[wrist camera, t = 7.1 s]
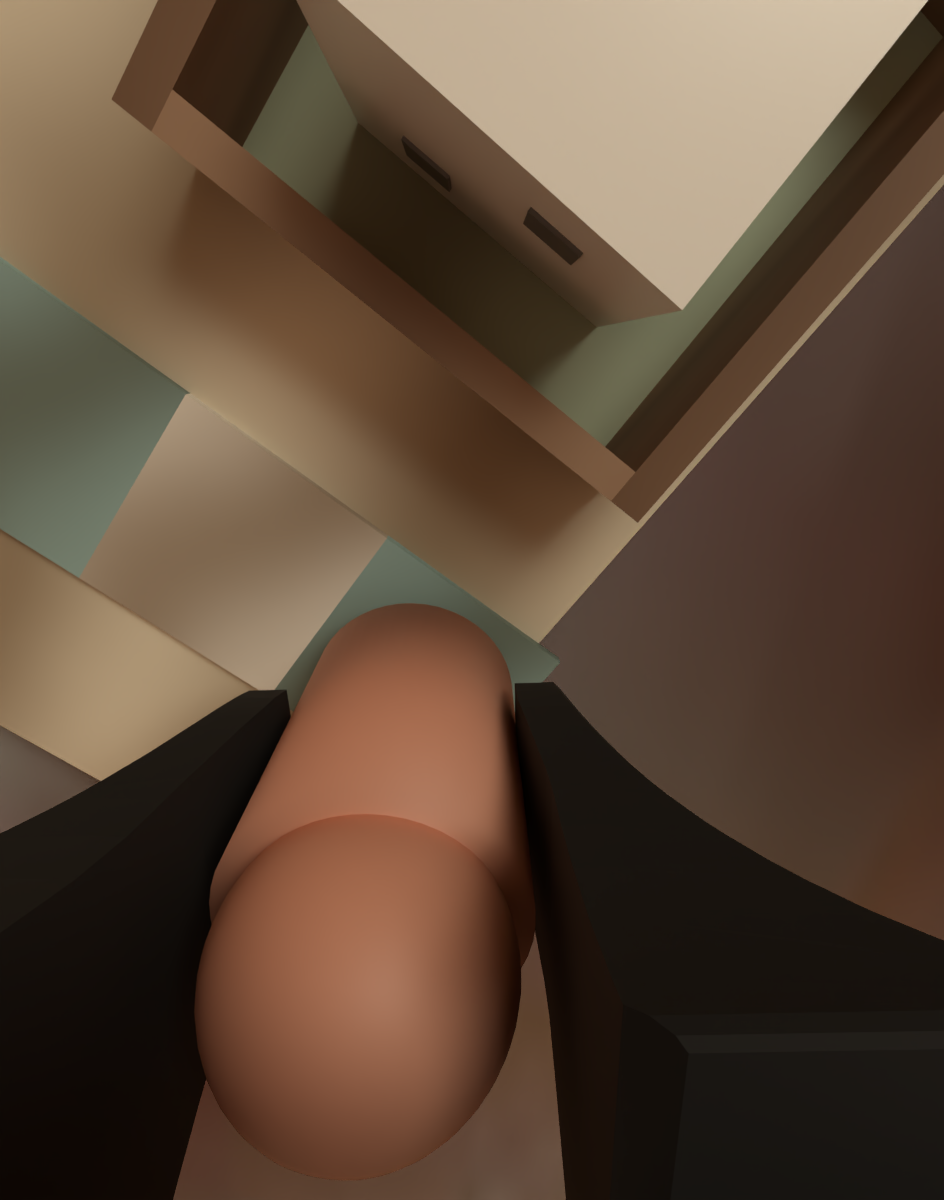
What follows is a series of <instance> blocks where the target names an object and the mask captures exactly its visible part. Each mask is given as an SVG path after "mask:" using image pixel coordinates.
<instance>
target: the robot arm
mask: <svg viewBox="0 0 944 1200" xmlns="http://www.w3.org/2000/svg"><path fill="white" fill-rule="evenodd" d="M290 718H291V714H290V708H289V701H288V695H287V690H252V691H247V692H245V693H243V694H241V695H239V696H237V697H236V698H234V699H232V700H230V701H229V702H227V703H225V704H224V705H222V706H221V707H219V708H217V709H216V710H214V711H213V712H211V713H210V714H208V715H207V716H205V717H203V718H202V719H200V720H199V721H197V722H196V723H194V724H193V725H191V726H190V727H188V728H186V729H185V730H183V731H182V732H180V733H179V734H177V735H176V736H174V737H172V738H171V739H169V740H168V741H166V742H165V743H163V744H162V745H160V746H158V747H157V748H155V749H154V750H152V751H151V752H149V753H147V754H146V755H144V756H142V757H141V758H139V759H137V760H136V761H134V762H132V763H130V764H129V765H127V766H125V767H124V768H122V769H120V770H119V771H117V772H115V773H114V774H112V775H110V776H109V777H107V778H105V779H104V780H102V781H100V782H98V783H97V784H95V785H93V786H92V787H90V788H88V789H87V790H85V791H83V792H81V793H79V794H77V795H76V796H74V797H72V798H70V799H68V800H66V801H64V802H63V803H61V804H59V805H57V806H55V807H53V808H51V809H49V810H47V811H45V812H43V813H41V814H39V815H37V816H35V817H33V818H31V819H29V820H27V821H25V822H23V823H21V824H19V825H17V826H15V827H13V828H11V829H9V830H7V831H5V832H2V833H0V1200H173V1197H174V1193H175V1189H176V1186H177V1182H178V1178H179V1175H180V1171H181V1167H182V1164H183V1160H184V1156H185V1153H186V1149H187V1145H188V1142H189V1138H190V1134H191V1131H192V1127H193V1123H194V1120H195V1116H196V1112H197V1109H198V1105H199V1101H200V1098H201V1094H202V1091H203V1088H204V1084H205V1081H206V1076H205V1073H204V1069H203V1066H202V1062H201V1058H200V1054H199V1051H198V1046H197V1037H196V1026H195V1016H194V1008H195V991H196V980H197V973H198V969H199V964H200V959H201V955H202V952H203V948H204V944H205V941H206V938H207V936H208V933H209V930H210V928H211V925H212V923H211V919H210V907H209V899H210V889H211V884H212V880H213V877H214V873H215V870H216V868H217V866H218V864H219V862H220V860H221V858H222V855H223V853H224V851H225V849H226V847H227V845H228V843H229V841H230V839H231V837H232V835H233V833H234V831H235V829H236V827H237V825H238V823H239V821H240V819H241V817H242V815H243V813H244V811H245V809H246V807H247V805H248V803H249V801H250V799H251V797H252V795H253V793H254V791H255V789H256V787H257V785H258V783H259V781H260V779H261V777H262V775H263V773H264V771H265V769H266V766H267V764H268V762H269V760H270V758H271V756H272V754H273V752H274V750H275V748H276V746H277V744H278V742H279V740H280V738H281V736H282V734H283V732H284V730H285V728H286V726H287V724H288V722H289V720H290ZM515 726H516V736H517V746H518V756H519V764H520V771H521V778H522V786H523V796H524V806H525V815H526V825H527V834H528V844H529V853H530V863H531V872H532V882H533V892H534V901H535V919H536V926H535V933H536V938H537V943H538V949H539V954H540V960H541V965H542V970H543V976H544V981H545V988H546V995H547V1002H548V1009H549V1016H550V1027H551V1038H552V1048H553V1059H554V1070H555V1081H556V1091H557V1102H558V1114H559V1125H560V1136H561V1147H562V1158H563V1170H564V1181H565V1193H566V1200H944V941H943V940H941V939H938V938H936V937H933V936H931V935H928V934H926V933H924V932H921V931H919V930H916V929H914V928H911V927H909V926H906V925H904V924H902V923H899V922H897V921H894V920H892V919H889V918H887V917H884V916H882V915H880V914H877V913H875V912H872V911H870V910H868V909H866V908H864V907H861V906H859V905H857V904H855V903H853V902H851V901H849V900H847V899H845V898H842V897H840V896H838V895H836V894H834V893H832V892H830V891H828V890H826V889H824V888H822V887H820V886H818V885H816V884H814V883H812V882H809V881H807V880H805V879H803V878H801V877H800V876H798V875H796V874H794V873H792V872H790V871H788V870H786V869H784V868H783V867H781V866H779V865H777V864H775V863H773V862H771V861H770V860H768V859H766V858H764V857H763V856H761V855H759V854H758V853H756V852H754V851H752V850H751V849H749V848H747V847H746V846H744V845H742V844H741V843H739V842H737V841H736V840H734V839H732V838H730V837H729V836H727V835H725V834H724V833H722V832H721V831H719V830H718V829H716V828H714V827H713V826H711V825H710V824H708V823H707V822H705V821H704V820H702V819H701V818H699V817H698V816H696V815H695V814H694V813H692V812H691V811H689V810H688V809H687V808H685V807H684V806H682V805H681V804H680V803H678V802H677V801H676V800H674V799H673V798H671V797H670V796H669V795H667V794H666V793H665V792H663V791H662V790H661V789H659V788H658V787H657V786H656V785H654V784H653V783H652V782H651V781H649V780H648V779H647V778H646V777H645V776H644V775H642V774H641V773H640V772H639V771H638V770H637V769H635V768H634V767H633V766H632V765H631V764H630V763H629V762H628V761H626V760H625V759H624V758H623V757H622V756H621V755H620V754H619V753H618V752H617V751H616V750H615V749H614V748H613V747H612V746H611V745H610V744H609V743H608V742H607V741H606V740H605V739H604V738H603V737H602V736H601V735H600V734H599V733H598V732H597V731H596V730H595V729H594V728H593V727H592V725H591V724H590V723H589V722H588V721H587V720H586V719H585V718H584V717H583V715H582V714H581V713H580V712H579V711H578V710H577V709H576V707H575V706H574V705H573V704H572V703H571V702H570V700H569V699H568V698H567V697H566V696H565V694H564V693H563V692H562V691H561V689H560V688H559V687H558V686H557V685H556V684H555V683H553V682H541V683H515Z"/></svg>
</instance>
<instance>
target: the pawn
mask: <svg viewBox="0 0 944 1200" xmlns="http://www.w3.org/2000/svg"><path fill="white" fill-rule="evenodd" d="M209 907H210V919H211V923H212V925H211V928H210V930H209V933H208V936H207V938H206V941H205V944H204V948H203V952H202V955H201V959H200V964H199V969H198V973H197V980H196V991H195V1008H194V1016H195V1026H196V1037H197V1046H198V1051H199V1054H200V1058H201V1062H202V1066H203V1069H204V1073H205V1076H206V1079H207V1082H208V1084H209V1086H210V1088H211V1090H212V1092H213V1094H214V1096H215V1098H216V1100H217V1102H218V1104H219V1106H220V1108H221V1110H222V1111H223V1113H224V1114H225V1116H226V1117H227V1118H228V1120H229V1121H230V1122H231V1124H232V1125H233V1126H234V1128H235V1129H236V1130H237V1132H238V1133H239V1134H240V1135H241V1136H242V1137H243V1138H244V1139H245V1140H246V1141H247V1142H248V1143H249V1144H251V1145H252V1146H253V1147H254V1148H256V1149H257V1150H258V1151H259V1152H261V1153H262V1154H263V1155H264V1156H266V1157H267V1158H269V1159H270V1160H272V1161H273V1162H275V1163H277V1164H279V1165H281V1166H283V1167H285V1168H287V1169H289V1170H292V1171H294V1172H297V1173H300V1174H304V1175H307V1176H311V1177H316V1178H322V1179H329V1180H362V1179H369V1178H374V1177H379V1176H383V1175H386V1174H389V1173H392V1172H394V1171H397V1170H400V1169H402V1168H404V1167H407V1166H409V1165H411V1164H413V1163H415V1162H417V1161H419V1160H421V1159H423V1158H424V1157H426V1156H427V1155H429V1154H430V1153H432V1152H433V1151H434V1150H436V1149H437V1148H439V1147H440V1146H441V1145H443V1144H444V1143H445V1142H447V1141H448V1140H449V1139H450V1138H451V1137H452V1136H453V1135H455V1134H456V1133H457V1132H458V1131H459V1130H460V1128H461V1127H462V1126H463V1125H464V1124H465V1123H466V1122H467V1121H468V1120H469V1119H470V1118H471V1116H472V1115H473V1114H474V1113H475V1112H476V1110H477V1109H478V1108H479V1106H480V1105H481V1103H482V1102H483V1100H484V1099H485V1097H486V1096H487V1094H488V1093H489V1091H490V1090H491V1088H492V1086H493V1084H494V1083H495V1081H496V1079H497V1077H498V1075H499V1073H500V1070H501V1068H502V1066H503V1064H504V1062H505V1059H506V1057H507V1054H508V1051H509V1048H510V1045H511V1042H512V1038H513V1035H514V1031H515V1028H516V1023H517V1017H518V1010H519V1003H520V996H521V968H522V966H523V964H524V962H525V960H526V958H527V957H528V954H529V951H530V948H531V945H532V942H533V938H534V932H535V926H536V919H535V901H534V892H533V882H532V872H531V863H530V853H529V844H528V834H527V825H526V815H525V806H524V796H523V786H522V778H521V771H520V764H519V756H518V746H517V736H516V726H515V710H514V700H513V691H512V683H511V677H510V673H509V670H508V667H507V664H506V661H505V659H504V658H503V656H502V654H501V652H500V650H499V649H498V647H497V646H496V644H495V643H494V642H493V641H492V639H491V638H490V637H489V636H488V635H487V634H486V633H485V632H484V631H483V630H482V629H480V628H479V627H478V626H477V625H476V624H474V623H473V622H471V621H469V620H468V619H466V618H465V617H463V616H461V615H459V614H457V613H454V612H452V611H450V610H447V609H444V608H441V607H437V606H432V605H427V604H416V603H404V604H394V605H388V606H383V607H380V608H376V609H373V610H371V611H368V612H366V613H364V614H362V615H360V616H358V617H356V618H355V619H353V620H351V621H350V622H349V623H347V624H346V625H345V626H344V627H342V628H341V629H340V630H339V631H338V632H337V633H336V634H335V635H334V637H333V638H332V639H331V640H330V642H329V643H328V645H327V646H326V648H325V649H324V651H323V653H322V655H321V657H320V659H319V661H318V663H317V665H316V667H315V669H314V671H313V673H312V675H311V677H310V680H309V682H308V684H307V686H306V688H305V690H304V692H303V694H302V696H301V698H300V700H299V702H298V704H297V706H296V708H295V710H294V712H293V714H292V716H291V718H290V720H289V722H288V724H287V726H286V728H285V730H284V732H283V734H282V736H281V738H280V740H279V742H278V744H277V746H276V748H275V750H274V752H273V754H272V756H271V758H270V760H269V762H268V764H267V766H266V769H265V771H264V773H263V775H262V777H261V779H260V781H259V783H258V785H257V787H256V789H255V791H254V793H253V795H252V797H251V799H250V801H249V803H248V805H247V807H246V809H245V811H244V813H243V815H242V817H241V819H240V821H239V823H238V825H237V827H236V829H235V831H234V833H233V835H232V837H231V839H230V841H229V843H228V845H227V847H226V849H225V851H224V853H223V855H222V858H221V860H220V862H219V864H218V866H217V868H216V870H215V873H214V877H213V880H212V884H211V889H210V899H209Z"/></svg>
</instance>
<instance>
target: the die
mask: <svg viewBox="0 0 944 1200" xmlns="http://www.w3.org/2000/svg"><path fill="white" fill-rule="evenodd" d="M296 1H297V3H298V5H299V7H300V9H301V11H302V13H303V15H304V16H305V18H306V20H307V22H308V24H309V26H310V28H311V30H312V32H313V34H314V36H315V38H316V40H317V42H318V44H319V46H320V48H321V50H322V52H323V54H324V56H325V58H326V60H327V62H328V64H329V66H330V68H331V70H332V72H333V74H334V76H335V78H336V80H337V82H338V84H339V86H340V88H341V90H342V92H343V94H344V96H345V98H346V100H347V102H348V104H349V106H350V108H351V110H352V112H353V114H354V116H355V118H356V120H357V122H358V123H359V124H360V125H361V126H363V127H364V128H365V129H366V130H367V131H368V132H370V133H371V134H372V135H373V136H374V137H375V138H377V139H378V140H379V141H380V142H381V143H382V144H384V145H385V146H386V147H387V148H388V149H389V150H391V151H392V152H393V153H394V154H395V155H396V156H398V157H399V158H400V159H401V160H402V161H403V162H405V163H406V164H407V165H408V166H409V167H410V168H412V169H413V170H414V171H415V172H416V173H417V174H419V175H420V176H421V177H422V178H423V179H424V180H425V181H427V182H428V183H429V184H430V185H431V186H432V187H434V188H435V189H436V190H437V191H438V192H439V193H441V194H442V195H443V196H444V197H445V198H446V199H448V200H449V201H450V202H451V203H452V204H453V205H455V206H456V207H457V208H458V209H459V210H460V211H462V212H463V213H464V214H465V215H466V216H467V217H469V218H470V219H471V220H472V221H473V222H474V223H476V224H477V225H478V226H479V227H480V228H481V229H483V230H484V231H485V232H486V233H487V234H488V235H490V236H491V237H492V238H493V239H494V240H495V241H497V242H498V243H499V244H500V245H501V246H502V247H504V248H505V249H506V250H507V251H508V252H509V253H511V254H512V255H513V256H514V257H515V258H516V259H518V260H519V261H520V262H521V263H522V264H523V265H525V266H526V267H527V268H528V269H529V270H530V271H532V272H533V273H534V274H535V275H536V276H537V277H539V278H540V279H541V280H542V281H543V282H544V283H546V284H547V285H548V286H549V287H550V288H551V289H553V290H554V291H555V292H556V293H557V294H558V295H559V296H561V297H562V298H563V299H564V300H565V301H566V302H568V303H569V304H570V305H571V306H572V307H573V308H575V309H576V310H577V311H578V312H579V313H580V314H582V315H583V316H584V317H585V318H586V319H587V320H589V321H590V322H591V323H592V324H593V325H594V326H596V327H601V326H606V325H611V324H616V323H621V322H626V321H631V320H636V319H641V318H646V317H651V316H656V315H661V314H666V313H671V312H676V311H681V310H683V309H684V307H685V306H686V305H687V304H688V302H689V301H690V300H691V299H692V297H693V296H694V295H695V294H696V292H697V291H698V290H699V289H700V287H701V286H702V285H703V284H704V282H705V281H706V280H707V278H708V277H709V276H710V275H711V273H712V272H713V271H714V270H715V268H716V267H717V266H718V265H719V263H720V262H721V261H722V260H723V258H724V257H725V256H726V255H727V253H728V252H729V251H730V249H731V248H732V247H733V246H734V244H735V243H736V242H737V241H738V239H739V238H740V237H741V236H742V234H743V233H744V232H745V231H746V229H747V228H748V227H749V226H750V224H751V223H752V222H753V220H754V219H755V218H756V217H757V215H758V214H759V213H760V212H761V210H762V209H763V208H764V207H765V205H766V204H767V203H768V202H769V200H770V199H771V198H772V197H773V195H774V194H775V193H776V191H777V190H778V189H779V188H780V186H781V185H782V184H783V183H784V181H785V180H786V179H787V178H788V176H789V175H790V174H791V173H792V171H793V170H794V169H795V168H796V166H797V165H798V164H799V163H800V161H801V160H802V159H803V157H804V156H805V155H806V154H807V152H808V151H809V150H810V149H811V147H812V146H813V145H814V144H815V142H816V141H817V140H818V139H819V137H820V136H821V135H822V134H823V132H824V131H825V130H826V128H827V127H828V126H829V125H830V123H831V122H832V121H833V120H834V118H835V117H836V116H837V115H838V113H839V112H840V111H841V110H842V108H843V107H844V106H845V105H846V103H847V102H848V101H849V99H850V98H851V97H852V96H853V94H854V93H855V92H856V91H857V89H858V88H859V87H860V86H861V84H862V83H863V82H864V81H865V79H866V78H867V77H868V76H869V74H870V73H871V72H872V70H873V69H874V68H875V67H876V65H877V64H878V63H879V62H880V60H881V59H882V58H883V57H884V55H885V54H886V53H887V52H888V50H889V49H890V48H891V47H892V45H893V44H894V43H895V41H896V40H897V39H898V38H899V36H900V35H901V34H902V33H903V31H904V30H905V29H906V28H907V26H908V25H909V24H910V23H911V21H912V20H913V19H914V18H915V16H916V15H917V14H918V13H919V11H920V10H921V9H922V7H923V6H924V5H925V4H926V2H927V1H928V0H296Z"/></svg>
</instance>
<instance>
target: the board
mask: <svg viewBox="0 0 944 1200" xmlns="http://www.w3.org/2000/svg"><path fill="white" fill-rule="evenodd" d="M943 185H944V0H928V1H927V2H926V4H925V5H924V6H923V7H922V9H921V10H920V11H919V13H918V14H917V15H916V16H915V18H914V19H913V20H912V21H911V23H910V24H909V25H908V26H907V28H906V29H905V30H904V31H903V33H902V34H901V35H900V36H899V38H898V39H897V40H896V41H895V43H894V44H893V45H892V47H891V48H890V49H889V50H888V52H887V53H886V54H885V55H884V57H883V58H882V59H881V60H880V62H879V63H878V64H877V65H876V67H875V68H874V69H873V70H872V72H871V73H870V74H869V76H868V77H867V78H866V79H865V81H864V82H863V83H862V84H861V86H860V87H859V88H858V89H857V91H856V92H855V93H854V94H853V96H852V97H851V98H850V99H849V101H848V102H847V103H846V105H845V106H844V107H843V108H842V110H841V111H840V112H839V113H838V115H837V116H836V117H835V118H834V120H833V121H832V122H831V123H830V125H829V126H828V127H827V128H826V130H825V131H824V132H823V134H822V135H821V136H820V137H819V139H818V140H817V141H816V142H815V144H814V145H813V146H812V147H811V149H810V150H809V151H808V152H807V154H806V155H805V156H804V157H803V159H802V160H801V161H800V163H799V164H798V165H797V166H796V168H795V169H794V170H793V171H792V173H791V174H790V175H789V176H788V178H787V179H786V180H785V181H784V183H783V184H782V185H781V186H780V188H779V189H778V190H777V191H776V193H775V194H774V195H773V197H772V198H771V199H770V200H769V202H768V203H767V204H766V205H765V207H764V208H763V209H762V210H761V212H760V213H759V214H758V215H757V217H756V218H755V219H754V220H753V222H752V223H751V224H750V226H749V227H748V228H747V229H746V231H745V232H744V233H743V234H742V236H741V237H740V238H739V239H738V241H737V242H736V243H735V244H734V246H733V247H732V248H731V249H730V251H729V252H728V253H727V255H726V256H725V257H724V258H723V260H722V261H721V262H720V263H719V265H718V266H717V267H716V268H715V270H714V271H713V272H712V273H711V275H710V276H709V277H708V278H707V280H706V281H705V282H704V284H703V285H702V286H701V287H700V289H699V290H698V291H697V292H696V294H695V295H694V296H693V297H692V299H691V300H690V301H689V302H688V304H687V305H686V306H685V307H684V309H683V310H681V311H676V312H671V313H666V314H661V315H656V316H651V317H646V318H641V319H636V320H631V321H626V322H621V323H616V324H611V325H606V326H601V327H596V326H594V325H593V324H592V323H591V322H590V321H589V320H587V319H586V318H585V317H584V316H583V315H582V314H580V313H579V312H578V311H577V310H576V309H575V308H573V307H572V306H571V305H570V304H569V303H568V302H566V301H565V300H564V299H563V298H562V297H561V296H559V295H558V294H557V293H556V292H555V291H554V290H553V289H551V288H550V287H549V286H548V285H547V284H546V283H544V282H543V281H542V280H541V279H540V278H539V277H537V276H536V275H535V274H534V273H533V272H532V271H530V270H529V269H528V268H527V267H526V266H525V265H523V264H522V263H521V262H520V261H519V260H518V259H516V258H515V257H514V256H513V255H512V254H511V253H509V252H508V251H507V250H506V249H505V248H504V247H502V246H501V245H500V244H499V243H498V242H497V241H495V240H494V239H493V238H492V237H491V236H490V235H488V234H487V233H486V232H485V231H484V230H483V229H481V228H480V227H479V226H478V225H477V224H476V223H474V222H473V221H472V220H471V219H470V218H469V217H467V216H466V215H465V214H464V213H463V212H462V211H460V210H459V209H458V208H457V207H456V206H455V205H453V204H452V203H451V202H450V201H449V200H448V199H446V198H445V197H444V196H443V195H442V194H441V193H439V192H438V191H437V190H436V189H435V188H434V187H432V186H431V185H430V184H429V183H428V182H427V181H425V180H424V179H423V178H422V177H421V176H420V175H419V174H417V173H416V172H415V171H414V170H413V169H412V168H410V167H409V166H408V165H407V164H406V163H405V162H403V161H402V160H401V159H400V158H399V157H398V156H396V155H395V154H394V153H393V152H392V151H391V150H389V149H388V148H387V147H386V146H385V145H384V144H382V143H381V142H380V141H379V140H378V139H377V138H375V137H374V136H373V135H372V134H371V133H370V132H368V131H367V130H366V129H365V128H364V127H363V126H361V125H360V124H359V123H358V122H357V120H356V118H355V116H354V114H353V112H352V110H351V108H350V106H349V104H348V102H347V100H346V98H345V96H344V94H343V92H342V90H341V88H340V86H339V84H338V82H337V80H336V78H335V76H334V74H333V72H332V70H331V68H330V66H329V64H328V62H327V60H326V58H325V56H324V54H323V52H322V50H321V48H320V46H319V44H318V42H317V40H316V38H315V36H314V34H313V32H312V30H311V28H310V26H309V24H308V22H307V20H306V18H305V16H304V15H303V13H302V11H301V9H300V7H299V5H298V3H297V1H296V0H0V725H1V726H2V727H4V728H6V729H8V730H10V731H11V732H13V733H15V734H17V735H19V736H20V737H22V738H24V739H26V740H28V741H29V742H31V743H33V744H35V745H37V746H38V747H40V748H42V749H44V750H46V751H47V752H49V753H51V754H53V755H55V756H56V757H58V758H60V759H62V760H64V761H65V762H67V763H69V764H71V765H73V766H75V767H76V768H78V769H80V770H82V771H84V772H85V773H87V774H89V775H91V776H93V777H94V778H96V779H98V780H100V781H102V780H104V779H105V778H107V777H109V776H110V775H112V774H114V773H115V772H117V771H119V770H120V769H122V768H124V767H125V766H127V765H129V764H130V763H132V762H134V761H136V760H137V759H139V758H141V757H142V756H144V755H146V754H147V753H149V752H151V751H152V750H154V749H155V748H157V747H158V746H160V745H162V744H163V743H165V742H166V741H168V740H169V739H171V738H172V737H174V736H176V735H177V734H179V733H180V732H182V731H183V730H185V729H186V728H188V727H190V726H191V725H193V724H194V723H196V722H197V721H199V720H200V719H202V718H203V717H205V716H207V715H208V714H210V713H211V712H213V711H214V710H216V709H217V708H219V707H221V706H222V705H224V704H225V703H227V702H229V701H230V700H232V699H234V698H236V697H237V696H239V695H241V694H243V693H245V692H247V691H252V690H287V695H288V701H289V708H290V714H291V716H292V714H293V712H294V710H295V708H296V706H297V704H298V702H299V700H300V698H301V696H302V694H303V692H304V690H305V688H306V686H307V684H308V682H309V680H310V677H311V675H312V673H313V671H314V669H315V667H316V665H317V663H318V661H319V659H320V657H321V655H322V653H323V651H324V649H325V648H326V646H327V645H328V643H329V642H330V640H331V639H332V638H333V637H334V635H335V634H336V633H337V632H338V631H339V630H340V629H341V628H342V627H344V626H345V625H346V624H347V623H349V622H350V621H351V620H353V619H355V618H356V617H358V616H360V615H362V614H364V613H366V612H368V611H371V610H373V609H376V608H380V607H383V606H388V605H394V604H404V603H416V604H427V605H432V606H437V607H441V608H444V609H447V610H450V611H452V612H454V613H457V614H459V615H461V616H463V617H465V618H466V619H468V620H469V621H471V622H473V623H474V624H476V625H477V626H478V627H479V628H480V629H482V630H483V631H484V632H485V633H486V634H487V635H488V636H489V637H490V638H491V639H492V641H493V642H494V643H495V644H496V646H497V647H498V649H499V650H500V652H501V654H502V656H503V658H504V659H505V661H506V664H507V667H508V670H509V673H510V677H511V683H512V691H513V700H514V710H515V683H541V682H543V681H544V680H545V679H546V677H547V676H548V675H549V674H550V673H551V672H552V671H553V670H554V669H555V667H556V666H557V665H558V664H559V663H560V661H559V658H558V657H557V656H555V655H554V654H553V653H551V652H550V651H548V650H547V649H546V648H544V647H543V646H542V645H540V644H539V643H540V641H541V640H542V639H543V638H544V637H545V636H546V635H547V634H548V632H549V631H550V630H551V629H552V628H553V627H554V626H555V624H556V623H557V622H558V621H559V620H560V619H561V618H562V617H563V615H564V614H565V613H566V612H567V611H568V610H569V609H570V607H571V606H572V605H573V604H574V603H575V602H576V601H577V600H578V598H579V597H580V596H581V595H582V594H583V593H584V592H585V590H586V589H587V588H588V587H589V586H590V585H591V584H592V583H593V581H594V580H595V579H596V578H597V577H598V576H599V575H600V573H601V572H602V571H603V570H604V569H605V568H606V567H607V566H608V564H609V563H610V562H611V561H612V560H613V559H614V558H615V556H616V555H617V554H618V553H619V552H620V551H621V550H622V549H623V547H624V546H625V545H626V544H627V543H628V542H629V541H630V539H631V538H632V537H633V536H634V535H635V534H636V533H637V532H638V530H639V529H640V528H641V527H642V526H643V525H644V524H645V522H646V521H647V520H648V519H649V518H650V517H651V516H652V515H653V513H654V512H655V511H656V510H657V509H658V508H659V507H660V505H661V504H662V503H663V502H664V501H665V500H666V499H667V498H668V496H669V495H670V494H671V493H672V492H673V491H674V490H675V488H676V487H677V486H678V485H679V484H680V483H681V482H682V481H683V479H684V478H685V477H686V476H687V475H688V474H689V473H690V471H691V470H692V469H693V468H694V467H695V466H696V465H697V464H698V462H699V461H700V460H701V459H702V458H703V457H704V456H705V454H706V453H707V452H708V451H709V450H710V449H711V448H712V447H713V445H714V444H715V443H716V442H717V441H718V440H719V439H720V437H721V436H722V435H723V434H724V433H725V432H726V431H727V430H728V428H729V427H730V426H731V425H732V424H733V423H734V422H735V421H736V419H737V418H738V417H739V416H740V415H741V414H742V413H743V411H744V410H745V409H746V408H747V407H748V406H749V405H750V404H751V402H752V401H753V400H754V399H755V398H756V397H757V396H758V394H759V393H760V392H761V391H762V390H763V389H764V388H765V387H766V385H767V384H768V383H769V382H770V381H771V380H772V379H773V377H774V376H775V375H776V374H777V373H778V372H779V371H780V370H781V368H782V367H783V366H784V365H785V364H786V363H787V362H788V360H789V359H790V358H791V357H792V356H793V355H794V354H795V353H796V351H797V350H798V349H799V348H800V347H801V346H802V345H803V343H804V342H805V341H806V340H807V339H808V338H809V337H810V336H811V334H812V333H813V332H814V331H815V330H816V329H817V328H818V326H819V325H820V324H821V323H822V322H823V321H824V320H825V319H826V317H827V316H828V315H829V314H830V313H831V312H832V311H833V309H834V308H835V307H836V306H837V305H838V304H839V303H840V302H841V300H842V299H843V298H844V297H845V296H846V295H847V294H848V292H849V291H850V290H851V289H852V288H853V287H854V286H855V285H856V283H857V282H858V281H859V280H860V279H861V278H862V277H863V275H864V274H865V273H866V272H867V271H868V270H869V269H870V268H871V266H872V265H873V264H874V263H875V262H876V261H877V260H878V258H879V257H880V256H881V255H882V254H883V253H884V252H885V251H886V249H887V248H888V247H889V246H890V245H891V244H892V243H893V241H894V240H895V239H896V238H897V237H898V236H899V235H900V234H901V232H902V231H903V230H904V229H905V228H906V227H907V226H908V224H909V223H910V222H911V221H912V220H913V219H914V218H915V217H916V215H917V214H918V213H919V212H920V211H921V210H922V209H923V207H924V206H925V205H926V204H927V203H928V202H929V201H930V200H931V198H932V197H933V196H934V195H935V194H936V193H937V192H938V190H939V189H940V188H941V187H942V186H943Z"/></svg>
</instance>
